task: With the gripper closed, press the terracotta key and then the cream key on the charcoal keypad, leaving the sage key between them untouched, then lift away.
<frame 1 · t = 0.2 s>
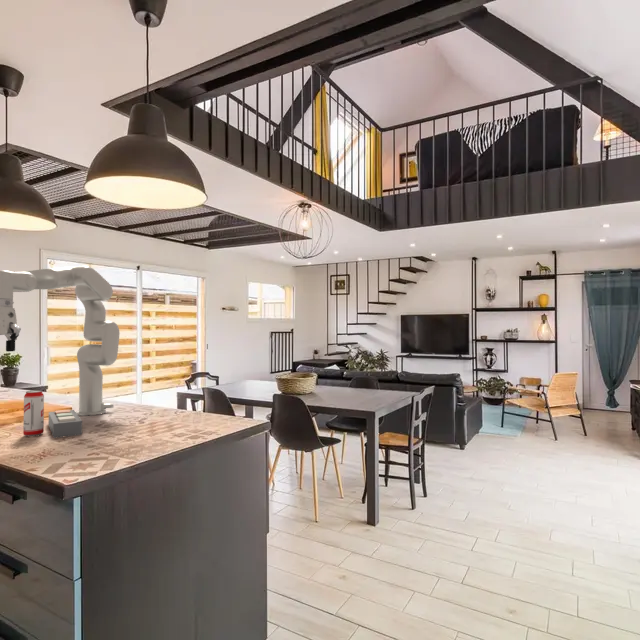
cream key: (66, 421, 167), point 4 cm above the countertop, slide at 0.0 cm
sage key: (64, 417, 174), point 4 cm above the countertop, slide at 0.0 cm
keypad: (64, 429, 174), on the countertop
terracotta key: (62, 414, 180), point 4 cm above the countertop, slide at 0.0 cm
beer can: (33, 435, 164), on the countertop
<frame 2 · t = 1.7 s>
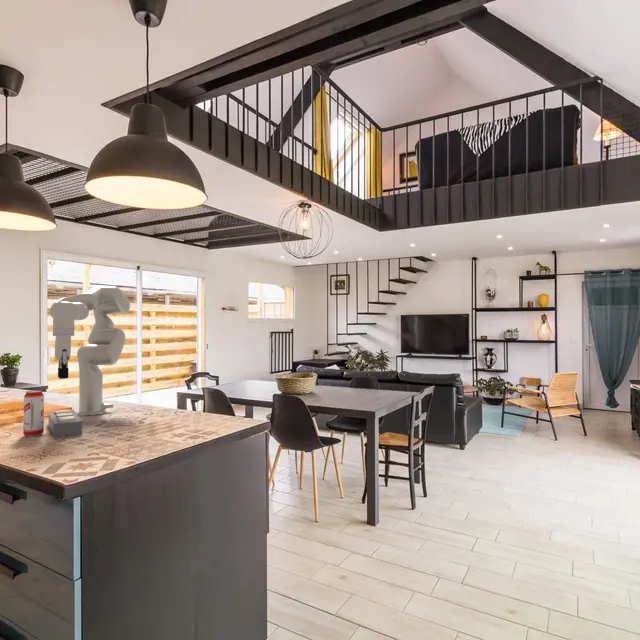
hand: (63, 377, 181), 19 cm above the countertop, tool pointing down, fingers open, 4 cm apart
nothing on the countertop moved.
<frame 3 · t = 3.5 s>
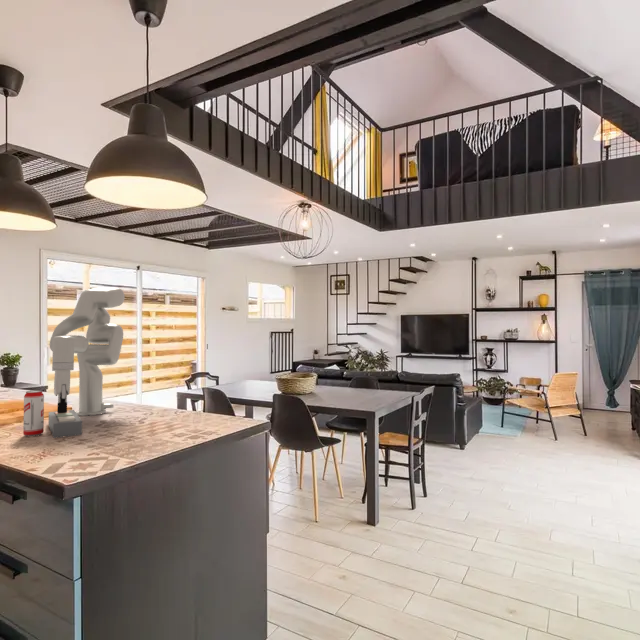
hand: (62, 412, 180), 5 cm above the countertop, tool pointing down, fingers closed
terracotta key: (62, 415, 180), point 4 cm above the countertop, slide at 0.6 cm, touching gripper
everything else where it was.
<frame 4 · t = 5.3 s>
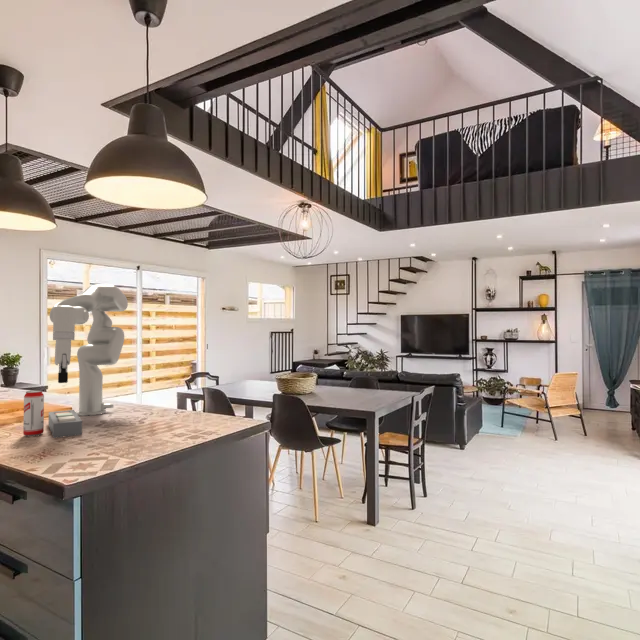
hand: (62, 382, 179), 17 cm above the countertop, tool pointing down, fingers closed
terracotta key: (62, 416, 180), point 4 cm above the countertop, slide at 0.9 cm
everything else where it was.
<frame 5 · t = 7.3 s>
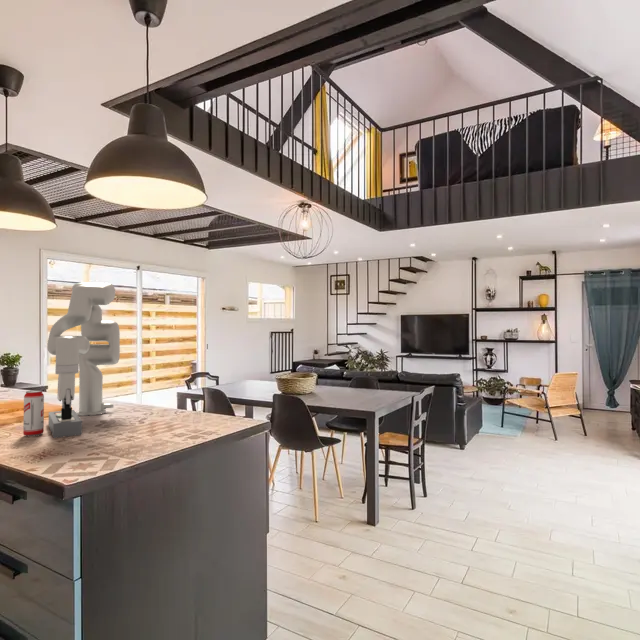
hand: (66, 419, 167), 5 cm above the countertop, tool pointing down, fingers closed
cream key: (66, 422, 167), point 4 cm above the countertop, slide at 0.5 cm, touching gripper
everything else where it was.
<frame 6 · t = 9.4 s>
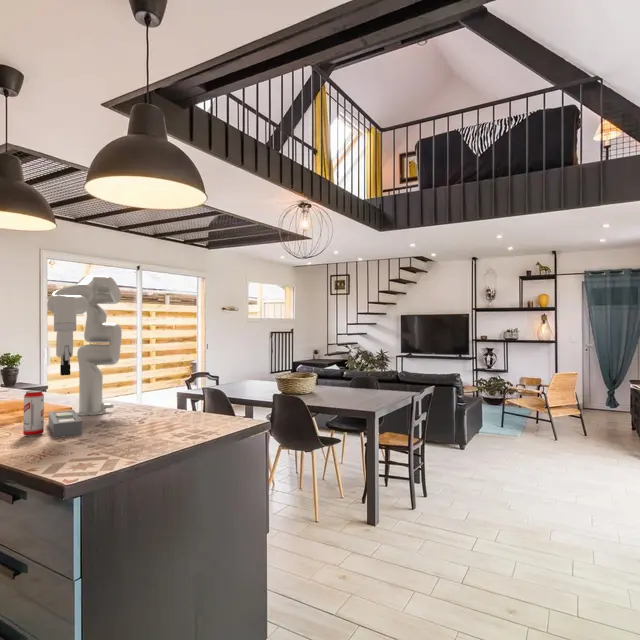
hand: (65, 374, 173), 21 cm above the countertop, tool pointing down, fingers closed
cream key: (66, 423, 167), point 4 cm above the countertop, slide at 0.9 cm
everything else where it was.
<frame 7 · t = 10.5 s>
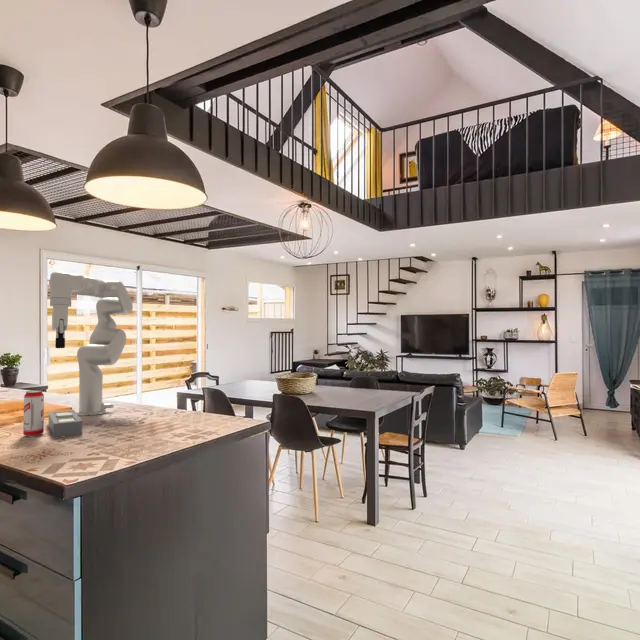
hand: (60, 347, 182), 31 cm above the countertop, tool pointing down, fingers closed
nothing on the countertop moved.
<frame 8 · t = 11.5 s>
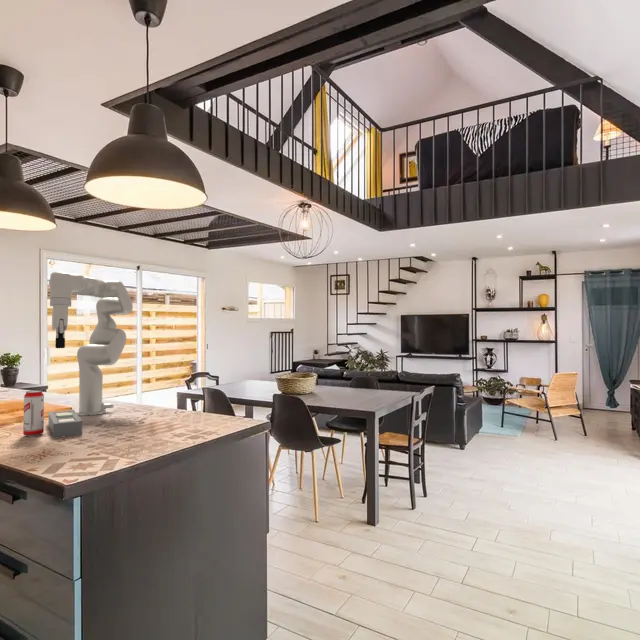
hand: (60, 347, 182), 31 cm above the countertop, tool pointing down, fingers closed
nothing on the countertop moved.
at the end: terracotta key slide at 0.9 cm; cream key slide at 0.9 cm; sage key slide at 0.0 cm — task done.
